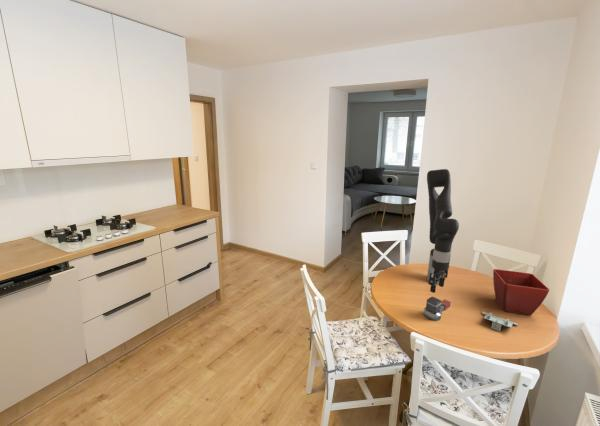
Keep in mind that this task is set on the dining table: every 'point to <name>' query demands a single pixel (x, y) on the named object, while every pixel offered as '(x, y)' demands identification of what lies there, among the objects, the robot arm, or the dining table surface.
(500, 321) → the metal bracket
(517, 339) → the dining table surface
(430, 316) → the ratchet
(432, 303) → the grey block
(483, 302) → the dining table surface
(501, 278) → the plant pot
